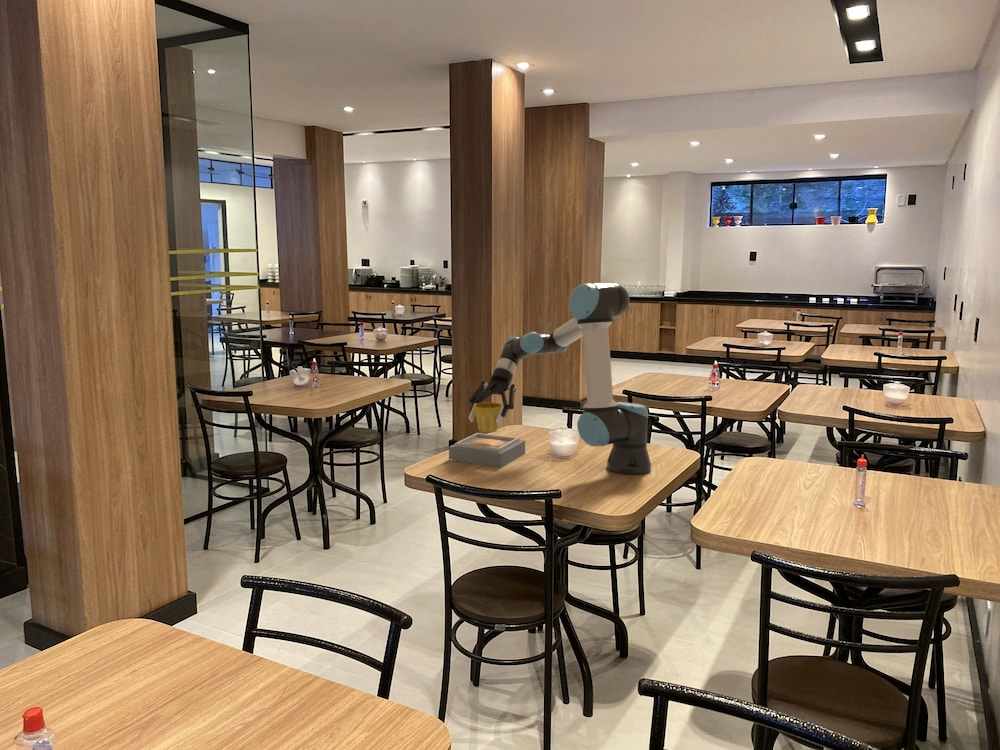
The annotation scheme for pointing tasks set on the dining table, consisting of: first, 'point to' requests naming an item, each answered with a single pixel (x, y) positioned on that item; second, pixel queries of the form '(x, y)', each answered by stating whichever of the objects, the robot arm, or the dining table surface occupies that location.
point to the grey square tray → (487, 449)
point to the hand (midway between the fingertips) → (483, 421)
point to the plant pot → (487, 416)
